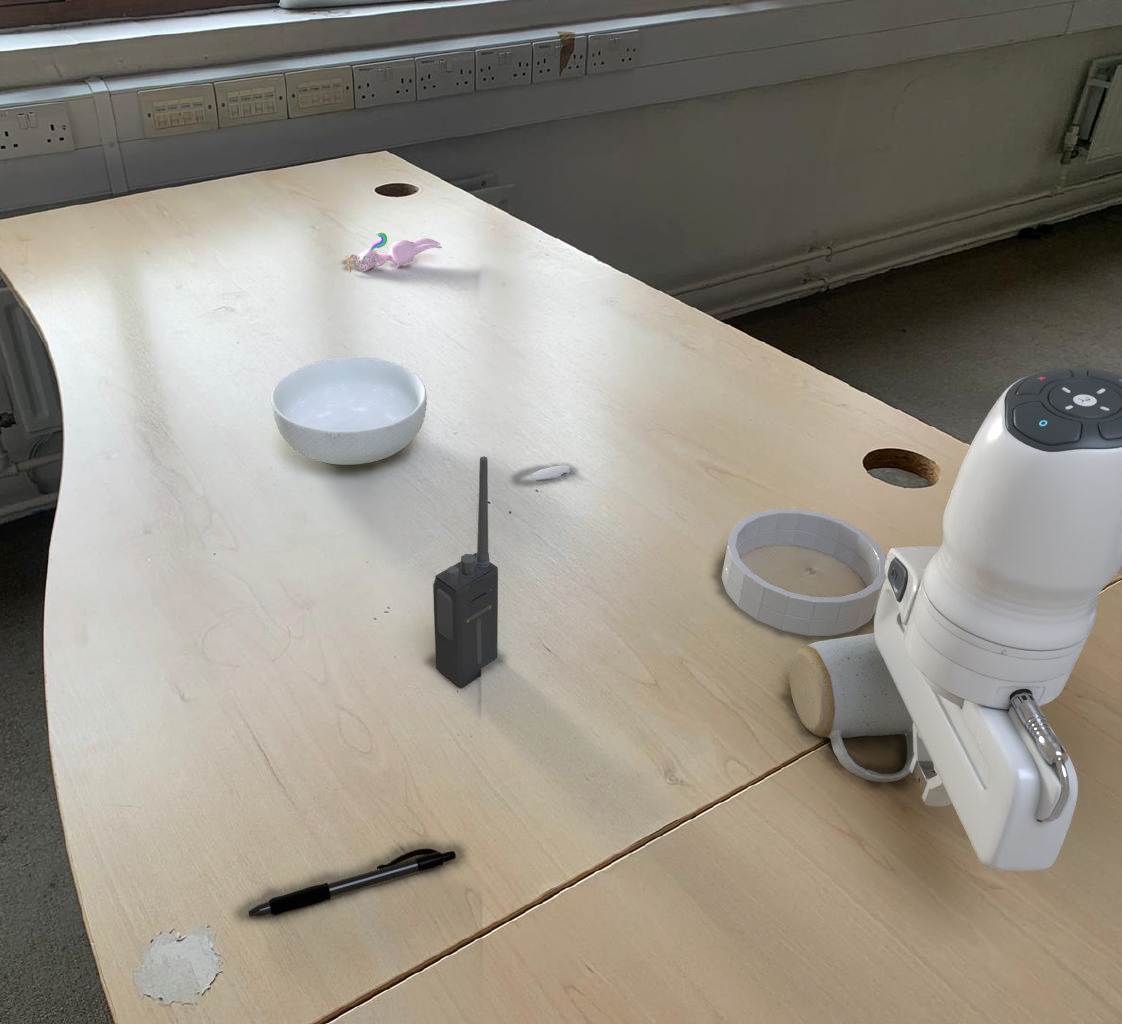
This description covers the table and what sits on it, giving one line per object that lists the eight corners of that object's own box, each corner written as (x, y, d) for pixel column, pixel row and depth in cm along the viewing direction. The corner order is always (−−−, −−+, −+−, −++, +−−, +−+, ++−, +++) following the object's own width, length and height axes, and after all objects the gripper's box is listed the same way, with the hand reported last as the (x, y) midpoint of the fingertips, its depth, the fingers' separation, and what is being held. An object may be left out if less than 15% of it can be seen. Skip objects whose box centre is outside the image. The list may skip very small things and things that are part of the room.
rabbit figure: (352, 285, 153) (446, 262, 153) (343, 249, 149) (439, 226, 150) (348, 270, 158) (439, 248, 158) (339, 235, 154) (432, 212, 155)
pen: (450, 846, 68) (450, 836, 68) (457, 866, 67) (457, 856, 66) (247, 904, 65) (244, 894, 64) (251, 926, 64) (249, 916, 63)
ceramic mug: (776, 689, 80) (795, 619, 75) (873, 680, 81) (898, 609, 76) (832, 797, 71) (858, 724, 67) (941, 785, 72) (973, 713, 68)
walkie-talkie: (472, 642, 85) (473, 443, 73) (500, 663, 83) (505, 461, 71) (430, 669, 82) (424, 467, 71) (457, 691, 80) (455, 486, 69)
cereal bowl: (248, 466, 109) (239, 410, 104) (325, 398, 121) (320, 346, 117) (385, 501, 103) (382, 443, 98) (451, 427, 115) (451, 372, 111)
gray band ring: (849, 547, 95) (859, 509, 93) (897, 643, 84) (911, 602, 82) (708, 546, 96) (715, 508, 93) (738, 641, 85) (746, 601, 82)
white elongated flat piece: (519, 494, 104) (519, 485, 103) (512, 481, 106) (512, 473, 105) (574, 481, 105) (574, 472, 104) (566, 469, 107) (565, 460, 106)
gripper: (1141, 777, 50) (1049, 933, 58) (975, 533, 66) (921, 681, 74) (1013, 776, 50) (939, 931, 58) (879, 533, 67) (836, 680, 75)
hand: (928, 789), depth 66 cm, fingers closed
